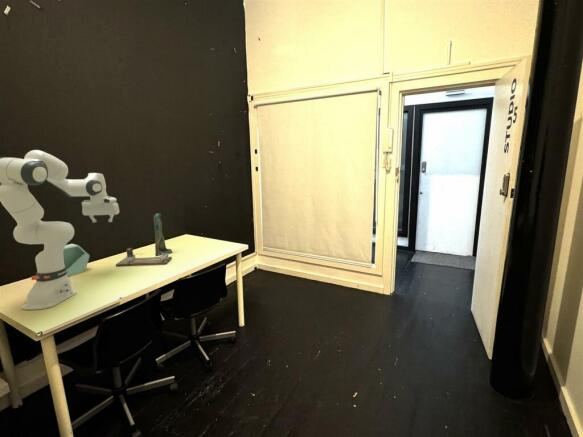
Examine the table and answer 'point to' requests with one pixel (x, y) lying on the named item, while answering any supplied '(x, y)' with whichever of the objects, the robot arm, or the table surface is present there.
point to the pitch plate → (146, 261)
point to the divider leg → (130, 255)
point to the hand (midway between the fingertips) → (102, 222)
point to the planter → (75, 259)
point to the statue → (159, 237)
